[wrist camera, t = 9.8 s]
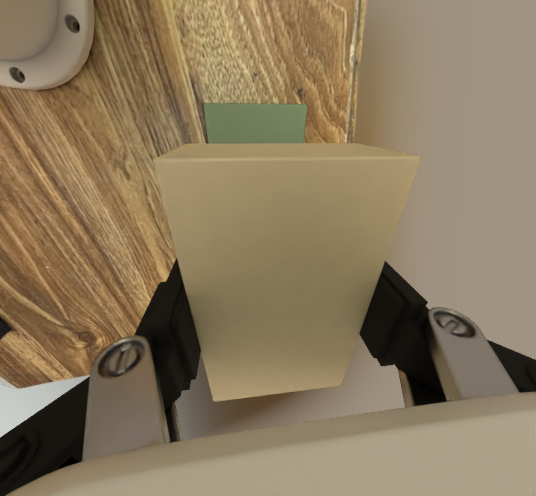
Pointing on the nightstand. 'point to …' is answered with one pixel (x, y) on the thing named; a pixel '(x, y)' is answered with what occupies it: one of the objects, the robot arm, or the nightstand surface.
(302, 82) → the nightstand surface
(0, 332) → the navy rectangular box
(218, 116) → the mat
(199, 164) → the tan cardboard box
